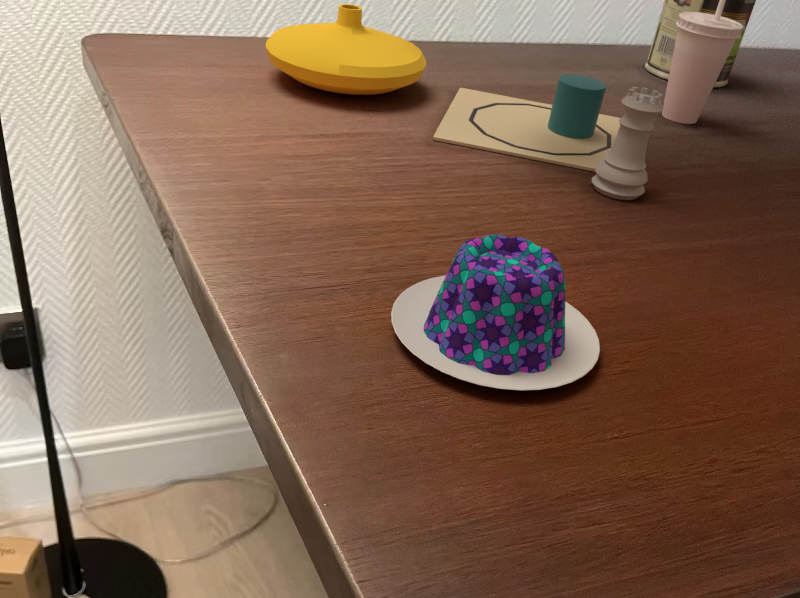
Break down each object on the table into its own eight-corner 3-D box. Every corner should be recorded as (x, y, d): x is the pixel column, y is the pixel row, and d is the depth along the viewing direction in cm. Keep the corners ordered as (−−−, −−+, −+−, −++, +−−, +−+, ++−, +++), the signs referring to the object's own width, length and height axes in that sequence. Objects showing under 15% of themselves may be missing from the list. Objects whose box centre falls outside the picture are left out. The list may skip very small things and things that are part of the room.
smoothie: (682, 131, 82) (733, -21, 74) (636, 109, 86) (679, -37, 78) (722, 125, 85) (775, -21, 77) (675, 105, 89) (721, -37, 81)
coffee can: (735, 78, 102) (781, -47, 94) (715, 94, 95) (763, -40, 86) (657, 57, 106) (694, -65, 97) (632, 71, 99) (670, -60, 90)
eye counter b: (593, 127, 78) (606, 79, 76) (592, 142, 75) (606, 92, 72) (549, 118, 79) (560, 71, 76) (546, 133, 75) (557, 83, 73)
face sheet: (632, 123, 82) (633, 119, 82) (636, 180, 69) (637, 176, 69) (459, 90, 84) (460, 86, 84) (432, 140, 71) (433, 136, 71)
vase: (233, 67, 80) (232, -10, 76) (354, 54, 90) (360, -16, 85) (331, 119, 72) (337, 36, 68) (454, 98, 81) (466, 23, 77)
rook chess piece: (594, 174, 69) (621, 78, 64) (646, 188, 68) (678, 91, 63) (585, 192, 66) (612, 92, 61) (639, 206, 65) (672, 106, 60)
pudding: (455, 265, 53) (469, 189, 50) (626, 335, 49) (653, 257, 45) (347, 339, 45) (356, 254, 41) (542, 432, 40) (568, 345, 37)
